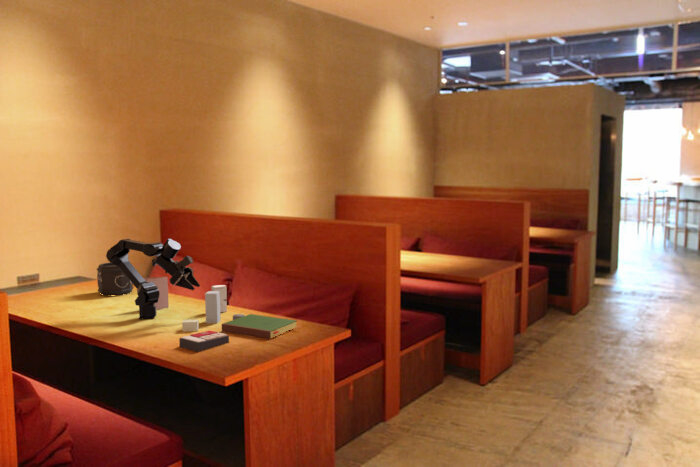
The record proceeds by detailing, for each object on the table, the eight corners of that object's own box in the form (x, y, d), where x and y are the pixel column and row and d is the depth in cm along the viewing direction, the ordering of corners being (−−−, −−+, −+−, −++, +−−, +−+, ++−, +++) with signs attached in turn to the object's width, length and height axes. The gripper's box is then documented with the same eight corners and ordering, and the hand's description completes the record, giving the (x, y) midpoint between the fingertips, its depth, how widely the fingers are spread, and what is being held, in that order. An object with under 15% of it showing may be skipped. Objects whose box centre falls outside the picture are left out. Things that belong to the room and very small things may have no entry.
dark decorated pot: (140, 290, 333) (139, 261, 331) (121, 297, 315) (120, 267, 314) (111, 289, 337) (110, 260, 335) (91, 295, 319) (89, 266, 318)
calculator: (229, 333, 233) (198, 340, 221) (229, 344, 233) (198, 352, 221) (210, 329, 239) (178, 336, 227) (210, 340, 239) (178, 347, 227)
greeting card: (168, 307, 292) (167, 276, 290) (168, 310, 285) (167, 279, 283) (143, 309, 289) (142, 277, 287) (143, 312, 282) (141, 280, 280)
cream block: (182, 331, 249) (182, 322, 248) (184, 329, 253) (183, 319, 252) (197, 331, 249) (197, 321, 249) (198, 328, 253) (198, 319, 253)
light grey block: (205, 323, 261) (205, 293, 260) (209, 320, 266) (208, 291, 265) (217, 323, 261) (216, 293, 260) (220, 320, 266) (219, 291, 265)
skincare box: (214, 313, 279) (214, 287, 278) (211, 311, 283) (210, 285, 281) (227, 311, 282) (226, 285, 281) (223, 309, 286) (223, 284, 285)
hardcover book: (221, 332, 248) (221, 323, 248) (250, 322, 264) (250, 314, 264) (271, 341, 236) (271, 331, 236) (298, 329, 252) (298, 320, 252)
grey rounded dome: (232, 324, 260) (232, 317, 260) (233, 321, 265) (233, 314, 265) (244, 323, 261) (244, 316, 261) (244, 320, 266) (244, 313, 266)
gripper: (174, 252, 254) (203, 276, 254) (186, 248, 272) (213, 271, 273) (157, 273, 254) (186, 296, 255) (170, 267, 273) (197, 290, 273)
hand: (196, 287), depth 264 cm, fingers open, 9 cm apart
